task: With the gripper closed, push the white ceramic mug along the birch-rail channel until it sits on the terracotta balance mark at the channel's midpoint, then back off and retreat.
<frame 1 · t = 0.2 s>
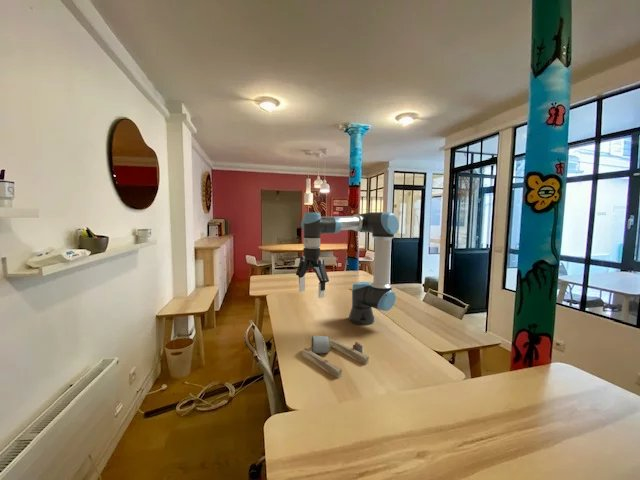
hand: (311, 294, 128), 27 cm above the table, fingers open, 13 cm apart
beam channel: (334, 359, 124), on the table
ceramic mug: (319, 351, 131), on the table
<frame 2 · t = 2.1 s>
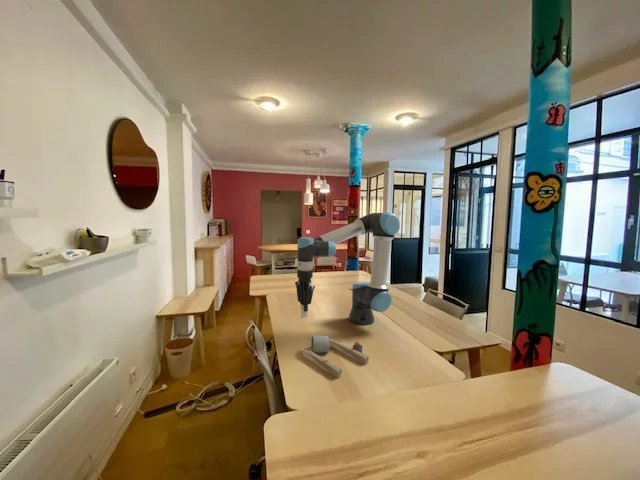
hand: (304, 317, 139), 13 cm above the table, fingers closed
nothing on the table moved.
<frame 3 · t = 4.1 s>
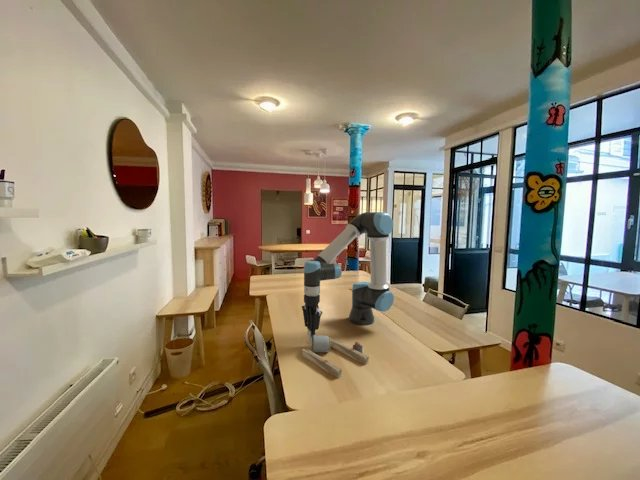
hand: (311, 342, 136), 2 cm above the table, fingers closed
ceramic mug: (319, 350, 132), on the table, touching gripper
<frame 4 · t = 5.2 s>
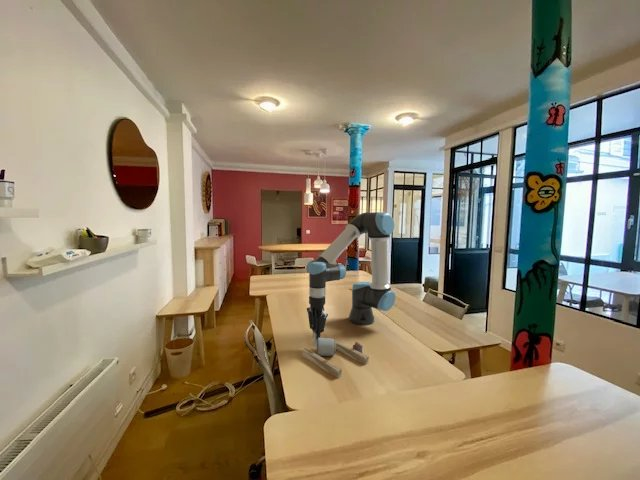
hand: (316, 345, 133), 2 cm above the table, fingers closed
ceramic mug: (325, 353, 129), on the table, touching gripper
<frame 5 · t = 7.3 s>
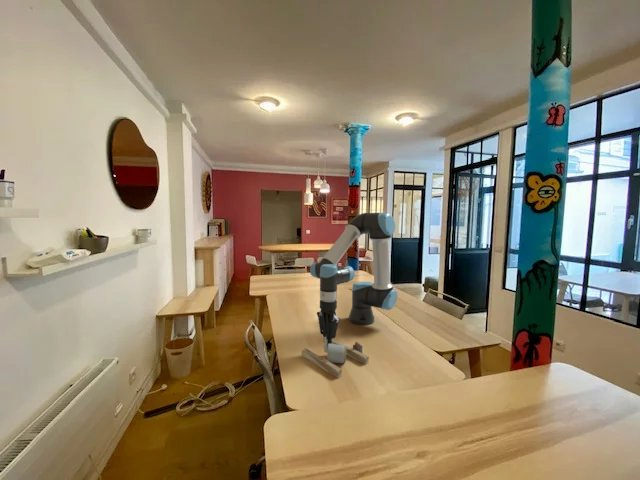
hand: (327, 351, 127), 2 cm above the table, fingers closed
ceramic mug: (335, 360, 123), on the table, touching gripper
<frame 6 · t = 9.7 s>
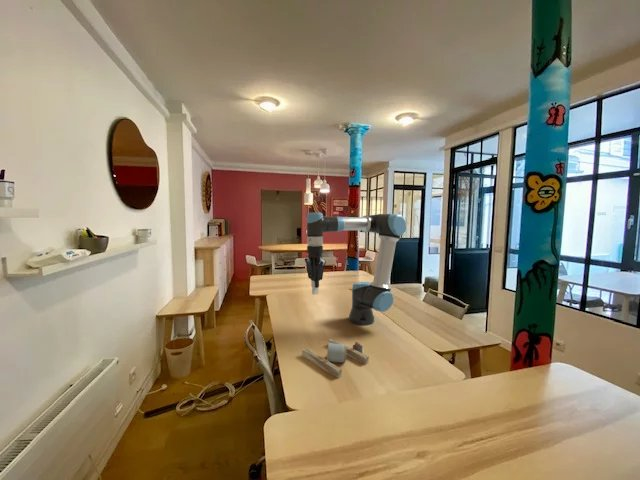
hand: (315, 293, 137), 25 cm above the table, fingers closed
ceramic mug: (335, 360, 124), on the table
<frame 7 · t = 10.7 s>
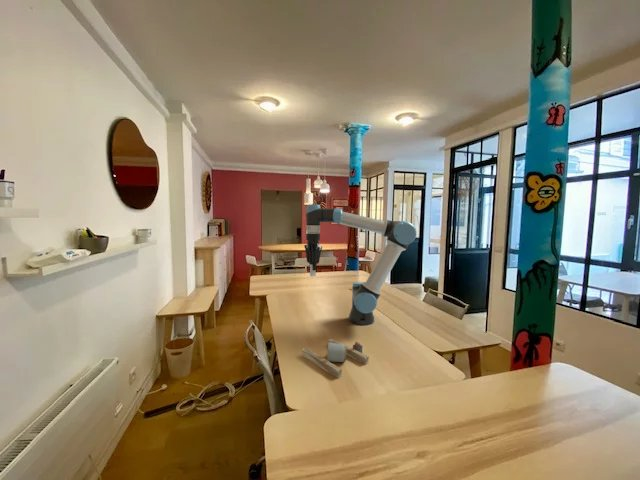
hand: (312, 275, 157), 29 cm above the table, fingers closed
nothing on the table moved.
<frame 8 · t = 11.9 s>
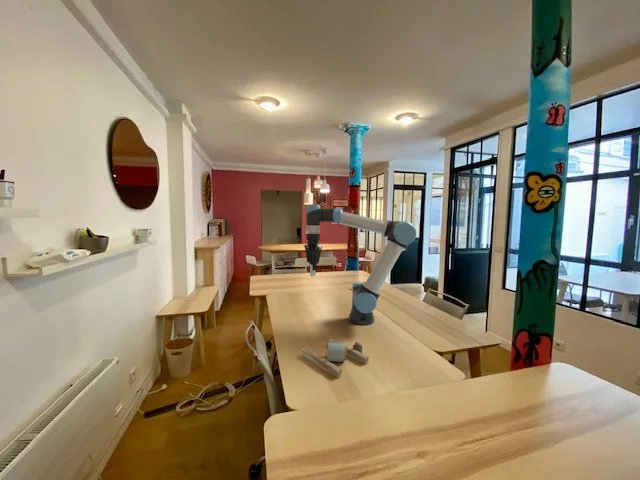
hand: (312, 275, 157), 29 cm above the table, fingers closed
nothing on the table moved.
at the end: ceramic mug inside the target area (3.2 cm from its centre), on the table; ceramic mug tilted 0°; ceramic mug touching table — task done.
